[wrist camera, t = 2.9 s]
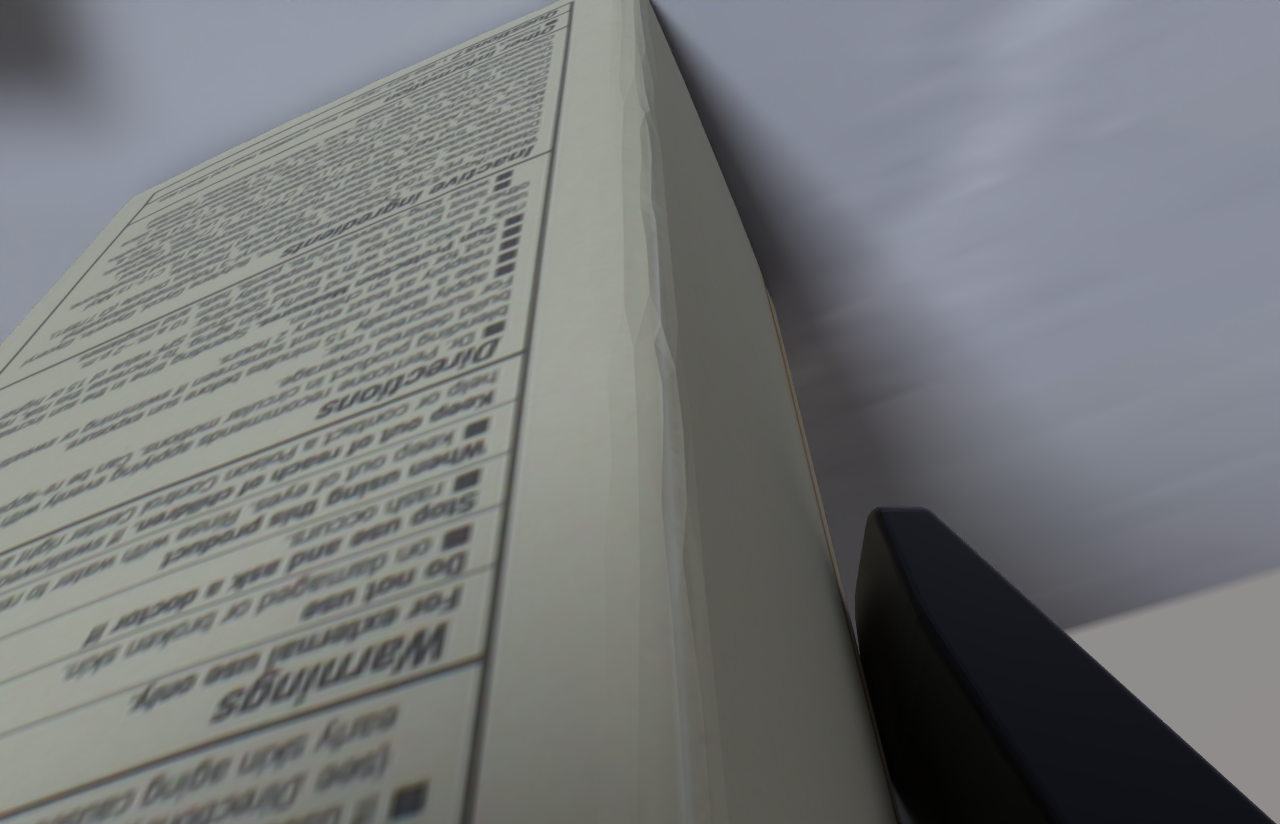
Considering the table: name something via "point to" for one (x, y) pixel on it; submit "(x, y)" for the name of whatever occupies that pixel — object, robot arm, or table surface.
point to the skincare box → (428, 477)
